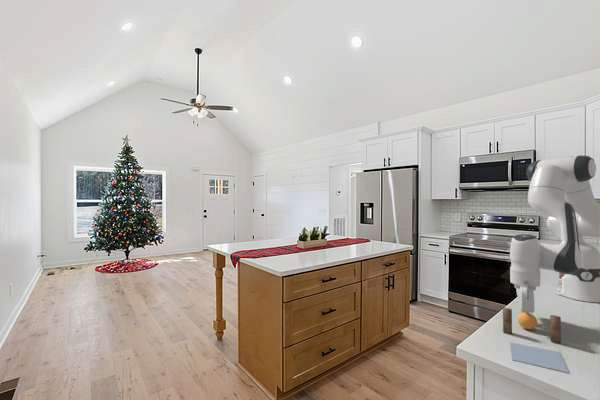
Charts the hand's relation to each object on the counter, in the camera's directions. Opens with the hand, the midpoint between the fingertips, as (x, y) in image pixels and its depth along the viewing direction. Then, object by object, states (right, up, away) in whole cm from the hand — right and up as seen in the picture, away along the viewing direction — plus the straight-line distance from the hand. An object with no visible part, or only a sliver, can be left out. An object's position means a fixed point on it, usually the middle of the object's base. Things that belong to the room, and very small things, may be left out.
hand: (525, 316), depth 108 cm
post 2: (-2, -2, -15) cm, 15 cm away
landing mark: (-14, -2, -23) cm, 27 cm away
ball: (-3, +1, -5) cm, 6 cm away
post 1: (-12, -2, -8) cm, 15 cm away
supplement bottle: (+57, -2, +45) cm, 73 cm away
